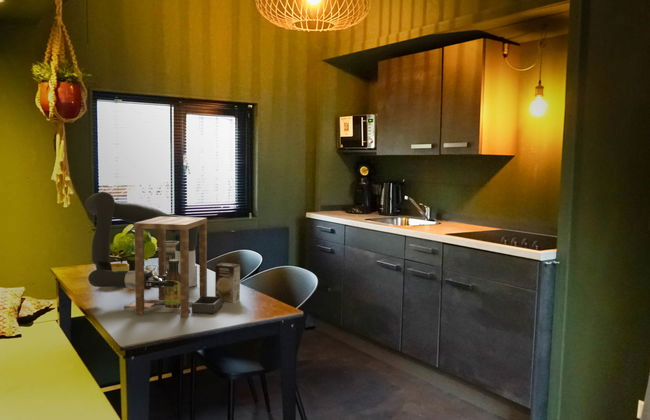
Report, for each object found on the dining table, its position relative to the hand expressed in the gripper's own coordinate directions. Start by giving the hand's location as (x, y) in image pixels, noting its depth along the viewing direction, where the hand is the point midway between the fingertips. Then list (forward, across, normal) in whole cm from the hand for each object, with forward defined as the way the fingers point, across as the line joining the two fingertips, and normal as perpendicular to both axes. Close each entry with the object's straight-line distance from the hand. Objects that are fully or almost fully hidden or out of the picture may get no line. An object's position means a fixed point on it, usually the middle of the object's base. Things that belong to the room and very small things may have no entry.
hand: (177, 281), depth 224 cm
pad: (-16, 0, +11) cm, 19 cm away
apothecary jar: (-26, +58, +11) cm, 64 cm away
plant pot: (-43, +34, +11) cm, 56 cm away
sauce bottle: (-2, 0, +11) cm, 11 cm away
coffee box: (+17, +14, +11) cm, 25 cm away
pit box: (+12, 0, +11) cm, 17 cm away
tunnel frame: (-6, 0, +11) cm, 13 cm away
